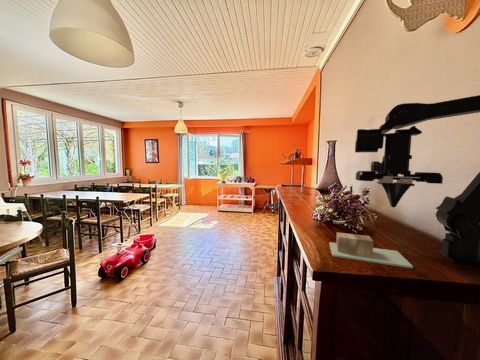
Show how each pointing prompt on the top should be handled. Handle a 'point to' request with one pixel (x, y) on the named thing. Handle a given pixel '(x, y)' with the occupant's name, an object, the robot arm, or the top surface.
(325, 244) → the top surface
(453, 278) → the top surface
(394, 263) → the sage mat
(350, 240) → the maple block
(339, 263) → the top surface
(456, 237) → the robot arm
